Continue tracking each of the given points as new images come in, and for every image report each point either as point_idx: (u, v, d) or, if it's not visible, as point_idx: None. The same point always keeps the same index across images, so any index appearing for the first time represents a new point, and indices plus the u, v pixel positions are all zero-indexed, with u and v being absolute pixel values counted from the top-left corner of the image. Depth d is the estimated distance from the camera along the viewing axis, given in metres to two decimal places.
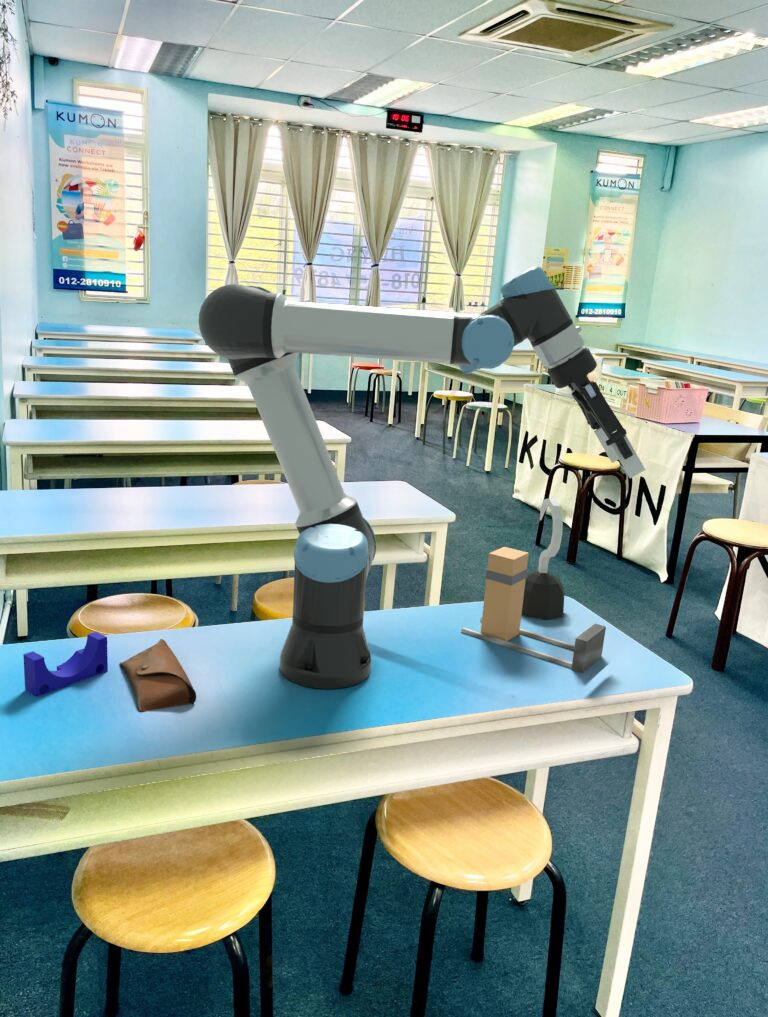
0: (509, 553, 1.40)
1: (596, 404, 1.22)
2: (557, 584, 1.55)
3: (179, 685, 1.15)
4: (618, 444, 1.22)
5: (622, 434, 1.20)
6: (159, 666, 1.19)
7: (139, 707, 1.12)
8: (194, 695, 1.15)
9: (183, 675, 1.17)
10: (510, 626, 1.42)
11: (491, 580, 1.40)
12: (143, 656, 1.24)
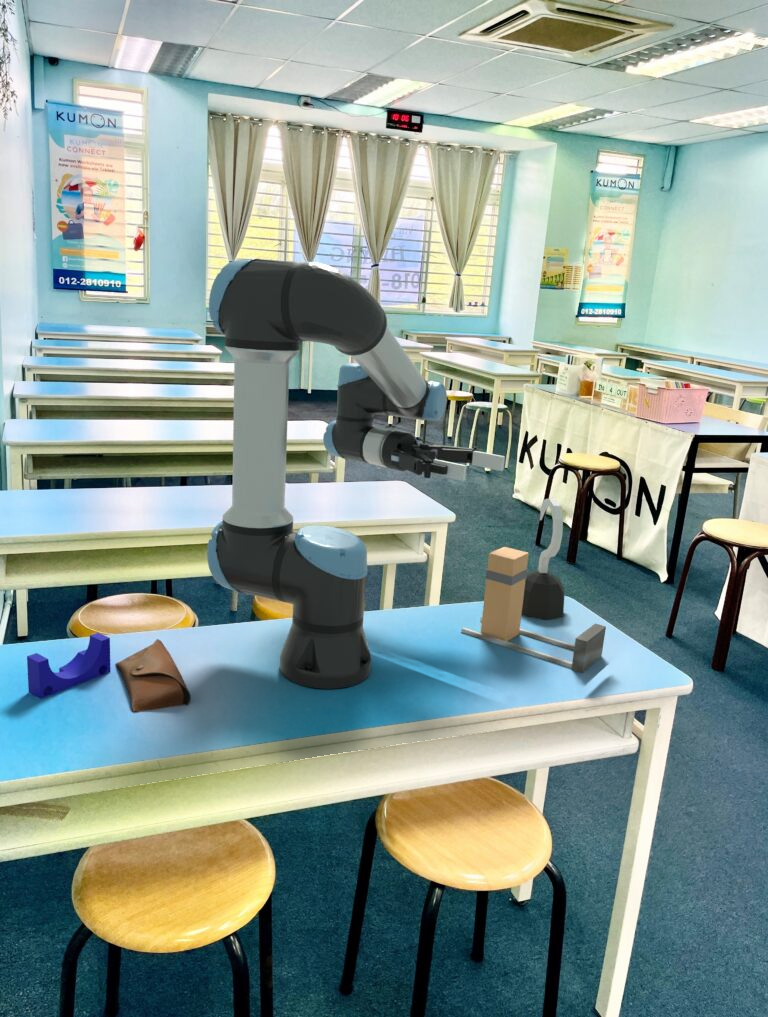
0: (509, 553, 1.40)
1: None
2: (557, 584, 1.55)
3: (174, 686, 1.14)
4: None
5: None
6: (154, 666, 1.19)
7: (133, 708, 1.12)
8: (188, 696, 1.15)
9: (178, 676, 1.17)
10: (510, 626, 1.42)
11: (491, 580, 1.40)
12: (138, 657, 1.24)
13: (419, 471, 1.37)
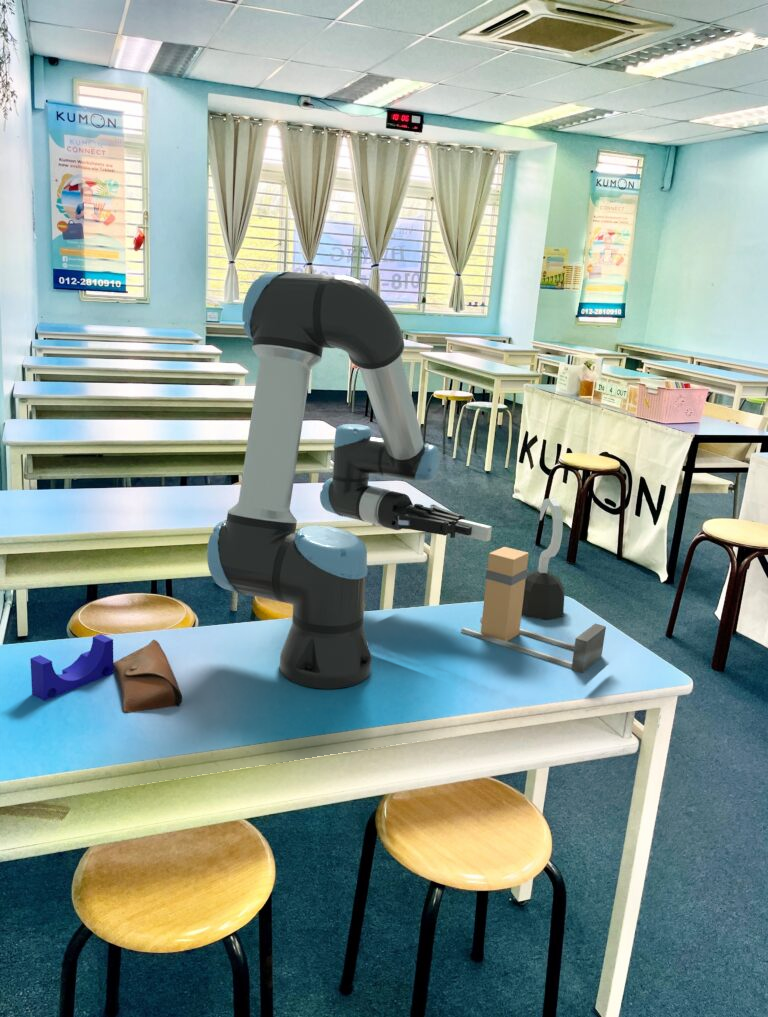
0: (509, 553, 1.40)
1: None
2: (557, 584, 1.55)
3: (165, 686, 1.14)
4: None
5: None
6: (147, 667, 1.19)
7: (124, 708, 1.12)
8: (180, 697, 1.14)
9: (170, 677, 1.17)
10: (510, 626, 1.42)
11: (491, 580, 1.40)
12: (134, 657, 1.24)
13: (447, 532, 1.47)
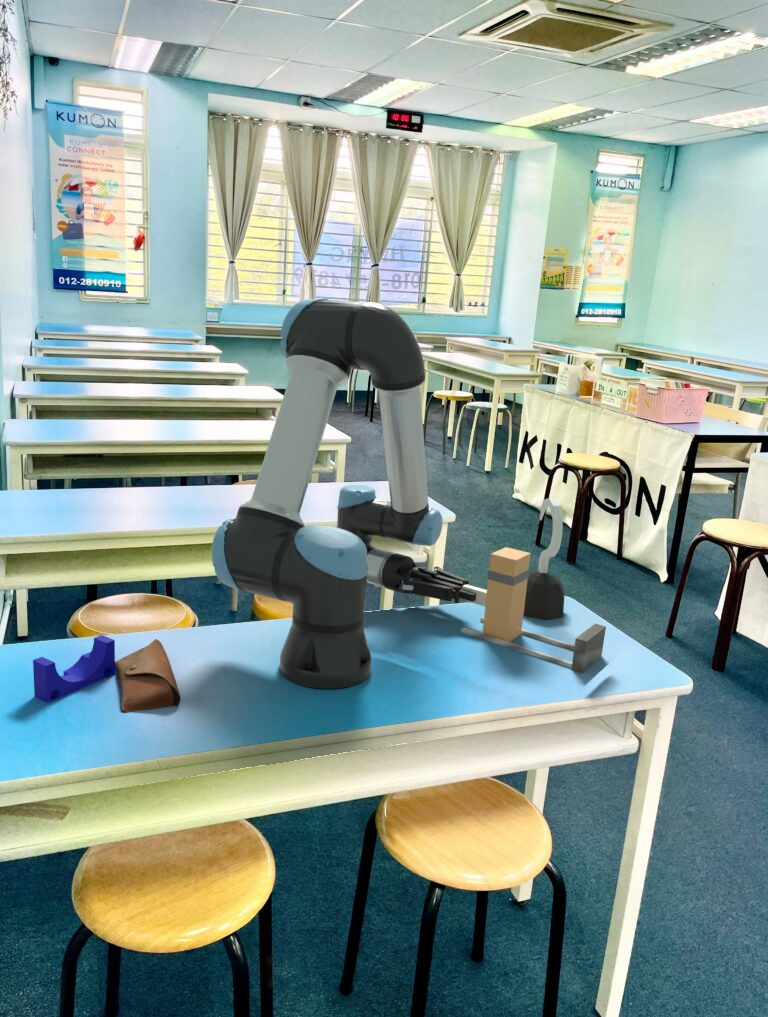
0: (511, 554, 1.40)
1: None
2: (557, 584, 1.55)
3: (164, 686, 1.14)
4: None
5: None
6: (147, 666, 1.19)
7: (122, 707, 1.12)
8: (178, 697, 1.14)
9: (169, 677, 1.16)
10: (512, 627, 1.42)
11: (493, 581, 1.40)
12: (135, 656, 1.24)
13: (451, 597, 1.47)
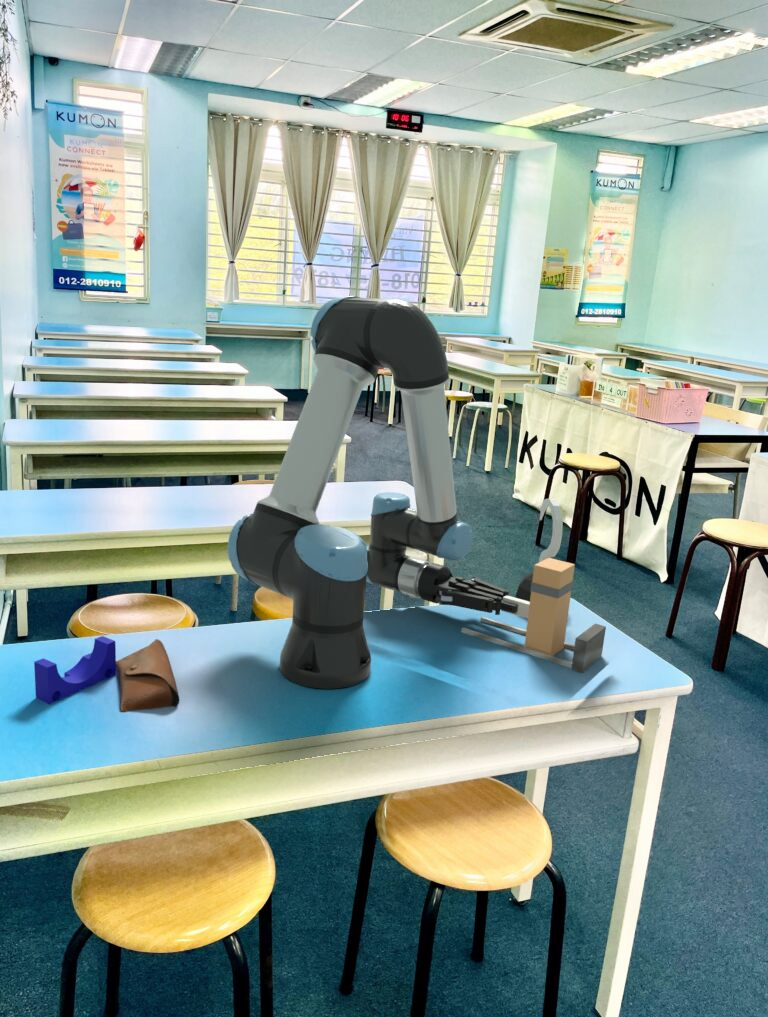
0: (555, 565, 1.36)
1: None
2: None
3: (163, 687, 1.14)
4: None
5: None
6: (147, 666, 1.19)
7: (121, 707, 1.12)
8: (177, 698, 1.14)
9: (169, 677, 1.16)
10: (556, 640, 1.37)
11: (536, 593, 1.35)
12: (136, 656, 1.24)
13: (492, 609, 1.42)
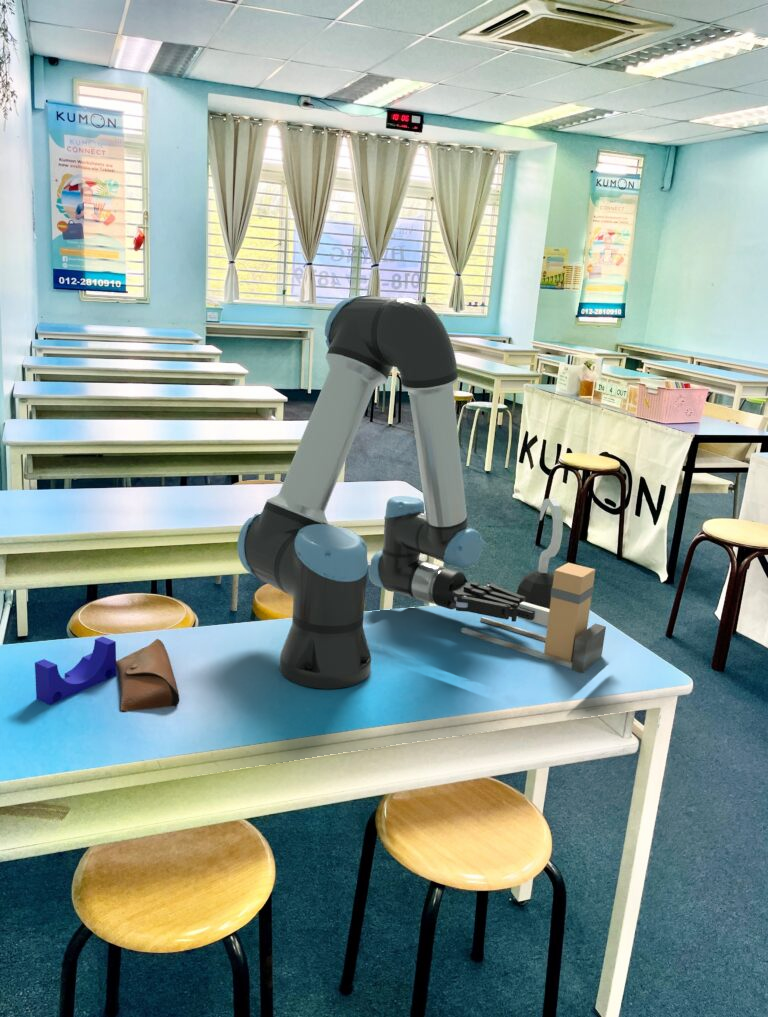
0: (575, 570, 1.33)
1: None
2: None
3: (163, 686, 1.14)
4: None
5: None
6: (147, 666, 1.19)
7: (121, 707, 1.12)
8: (177, 697, 1.14)
9: (169, 677, 1.16)
10: None
11: (556, 598, 1.33)
12: (136, 656, 1.24)
13: (508, 616, 1.40)
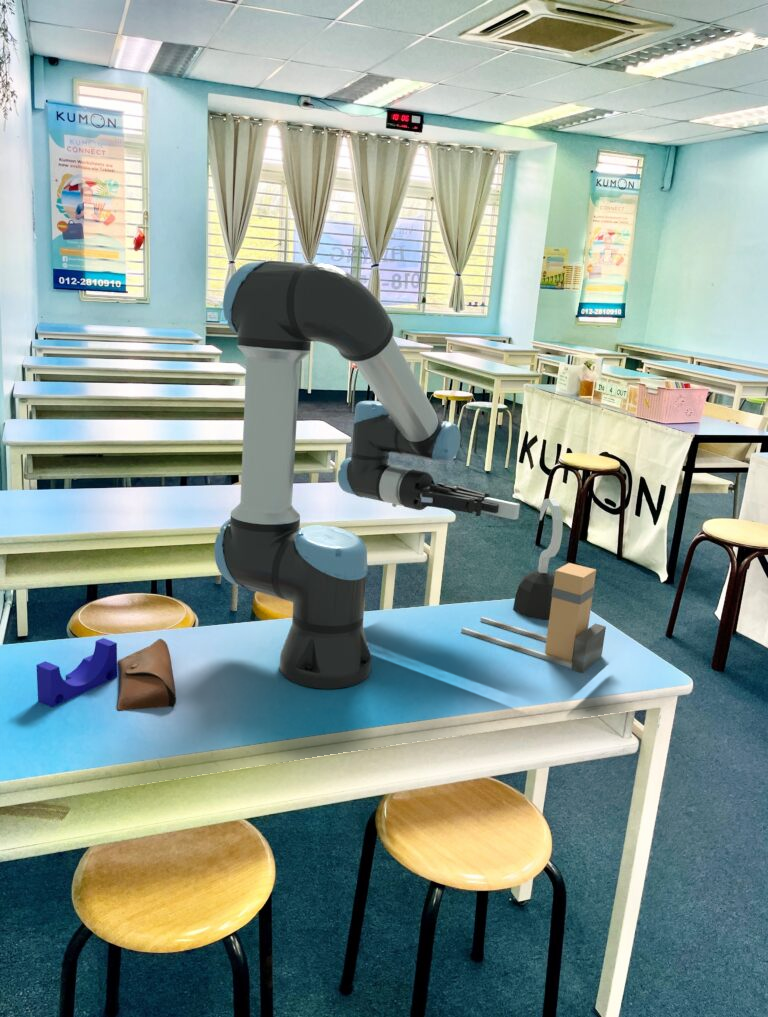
0: (576, 570, 1.33)
1: None
2: None
3: (160, 687, 1.14)
4: None
5: None
6: (146, 666, 1.19)
7: (118, 706, 1.12)
8: (174, 698, 1.14)
9: (167, 677, 1.16)
10: None
11: (557, 598, 1.33)
12: (138, 655, 1.25)
13: (472, 509, 1.40)
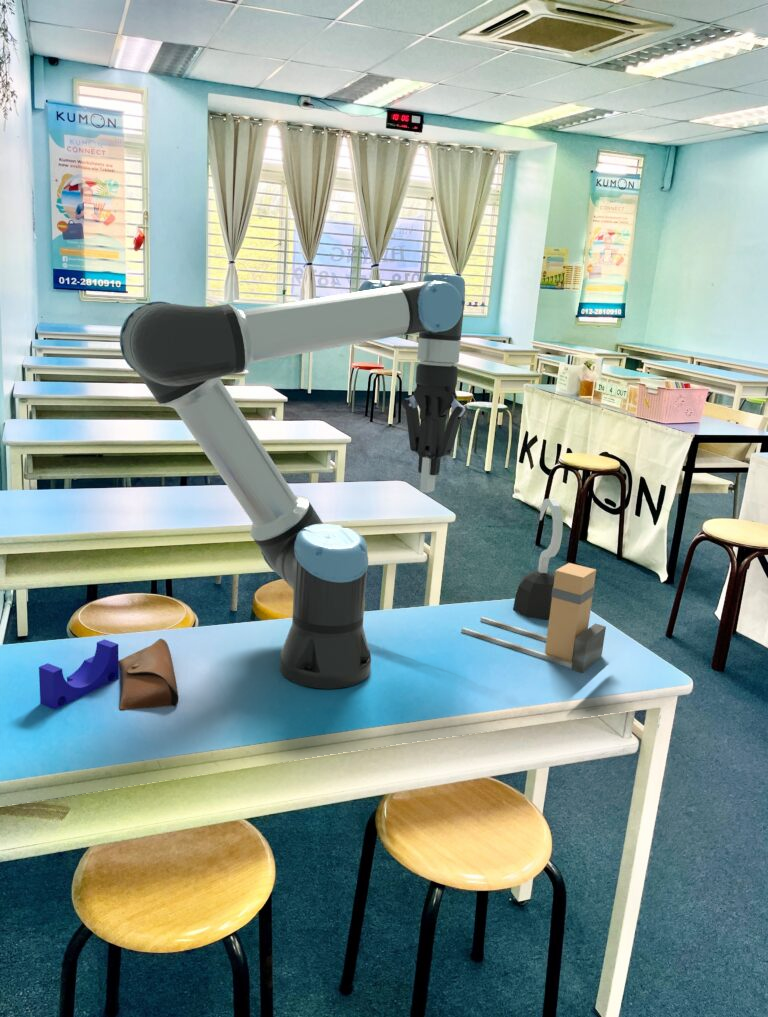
0: (576, 570, 1.33)
1: (455, 424, 1.39)
2: None
3: (162, 686, 1.14)
4: (437, 461, 1.42)
5: (448, 453, 1.42)
6: (148, 665, 1.19)
7: (120, 706, 1.13)
8: (176, 697, 1.14)
9: (169, 676, 1.17)
10: None
11: (557, 598, 1.33)
12: (139, 655, 1.25)
13: None
